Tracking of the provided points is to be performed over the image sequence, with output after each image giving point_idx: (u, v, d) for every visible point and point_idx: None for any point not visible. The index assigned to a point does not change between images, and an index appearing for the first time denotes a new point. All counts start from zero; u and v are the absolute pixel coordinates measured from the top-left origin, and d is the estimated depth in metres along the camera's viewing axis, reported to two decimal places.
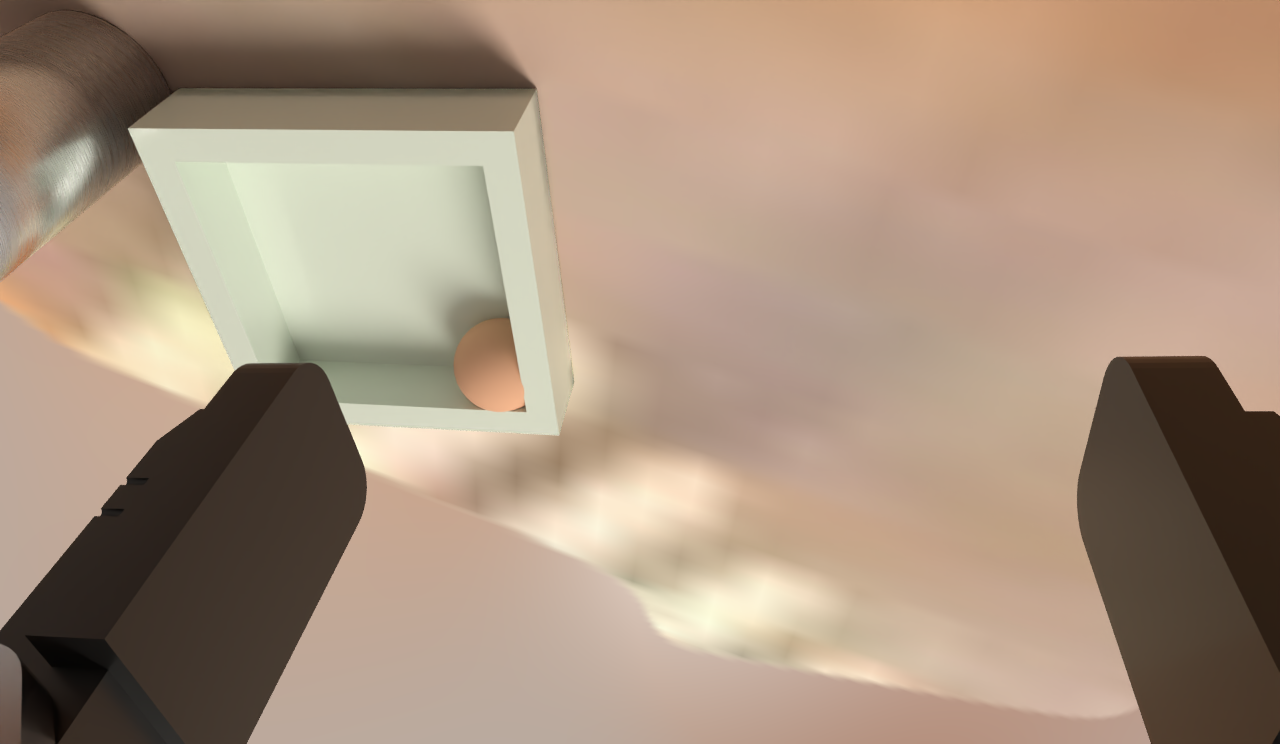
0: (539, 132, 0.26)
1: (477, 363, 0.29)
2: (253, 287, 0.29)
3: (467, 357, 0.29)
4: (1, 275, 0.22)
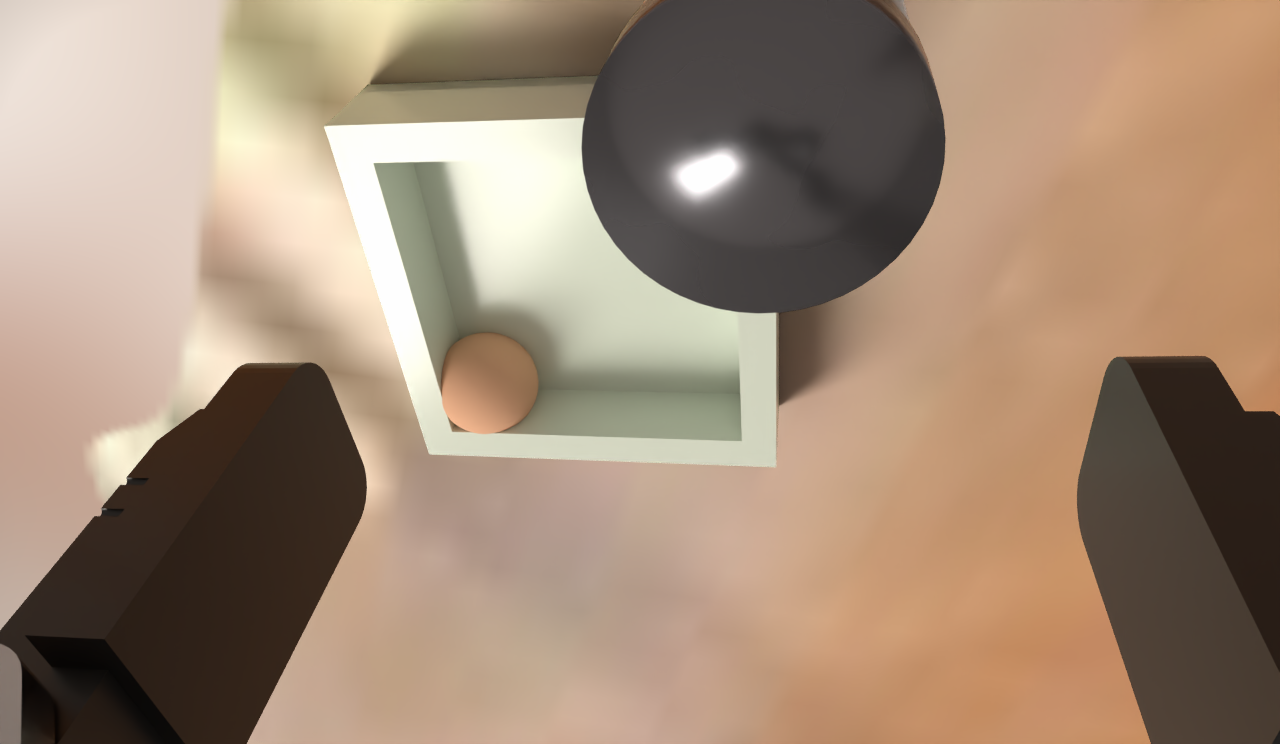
0: None
1: (506, 399, 0.27)
2: None
3: (507, 385, 0.27)
4: None
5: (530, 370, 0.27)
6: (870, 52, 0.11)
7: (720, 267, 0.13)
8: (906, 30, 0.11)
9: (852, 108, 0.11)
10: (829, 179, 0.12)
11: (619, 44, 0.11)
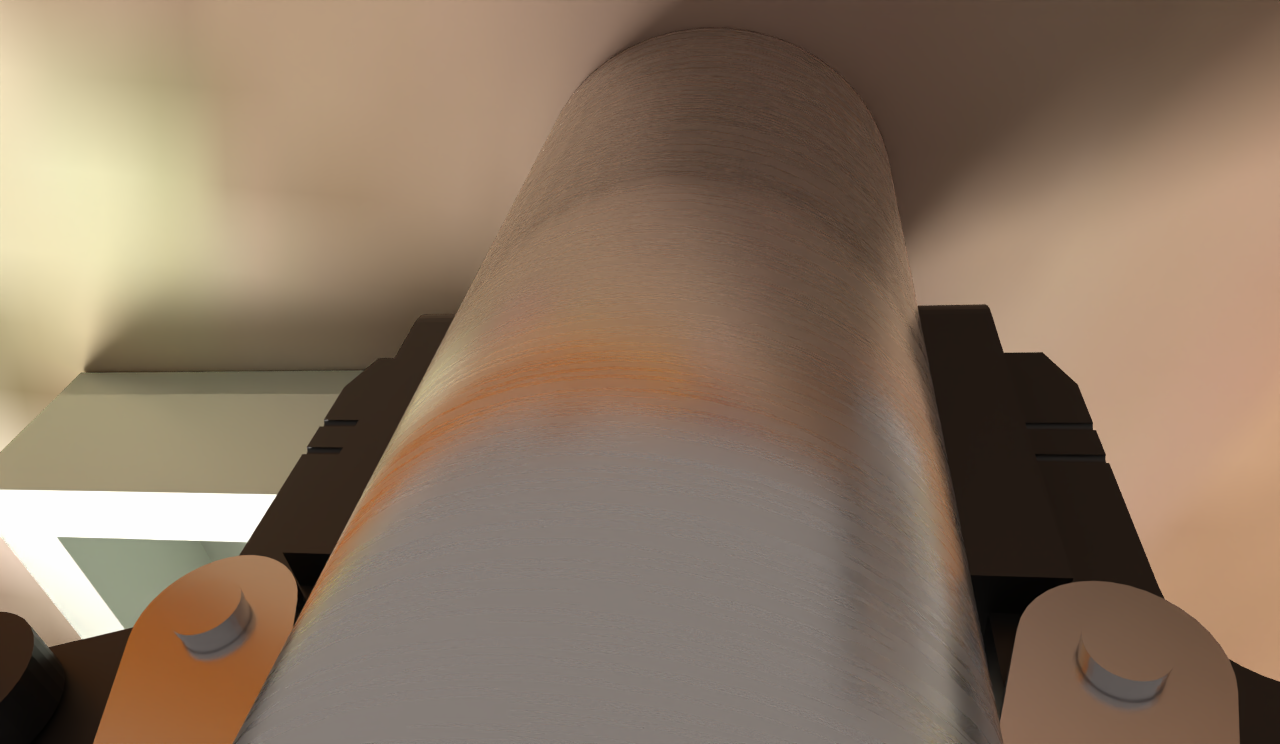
0: None
1: None
2: None
3: None
4: None
5: None
6: None
7: None
8: None
9: None
10: None
11: None
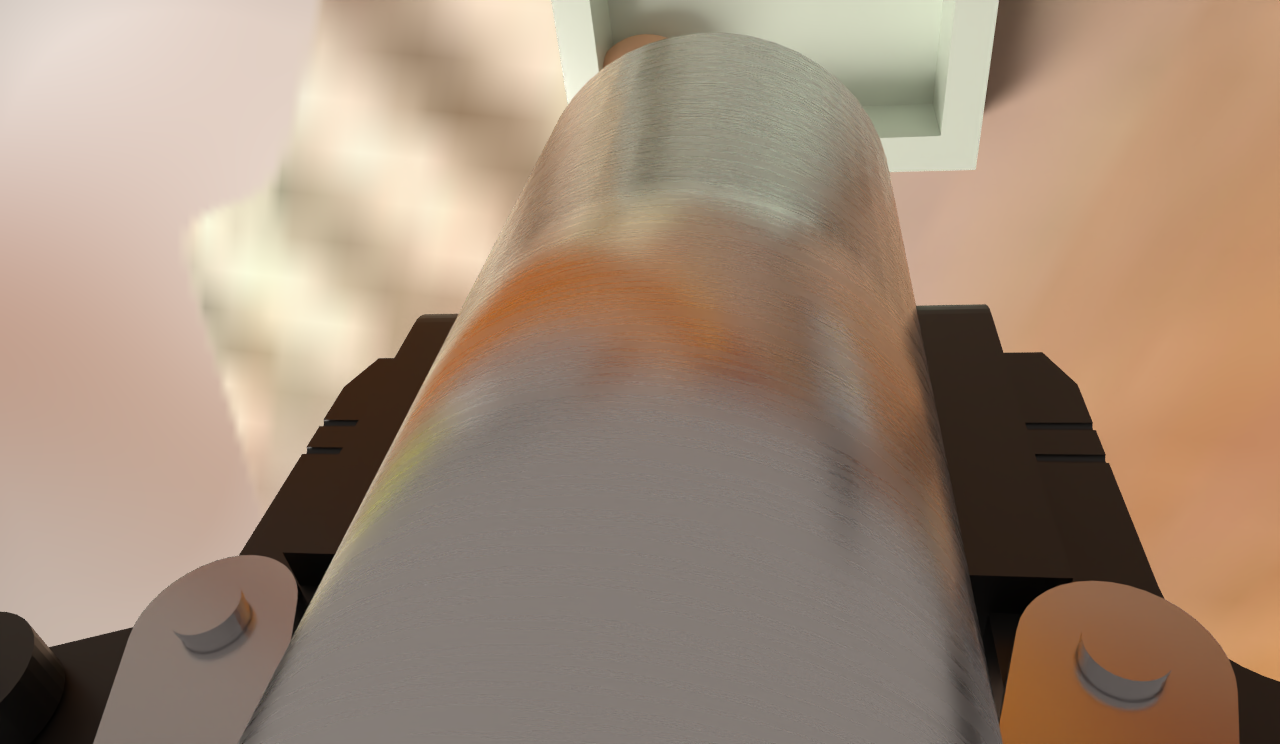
0: None
1: None
2: None
3: None
4: None
5: None
6: None
7: None
8: None
9: None
10: None
11: None
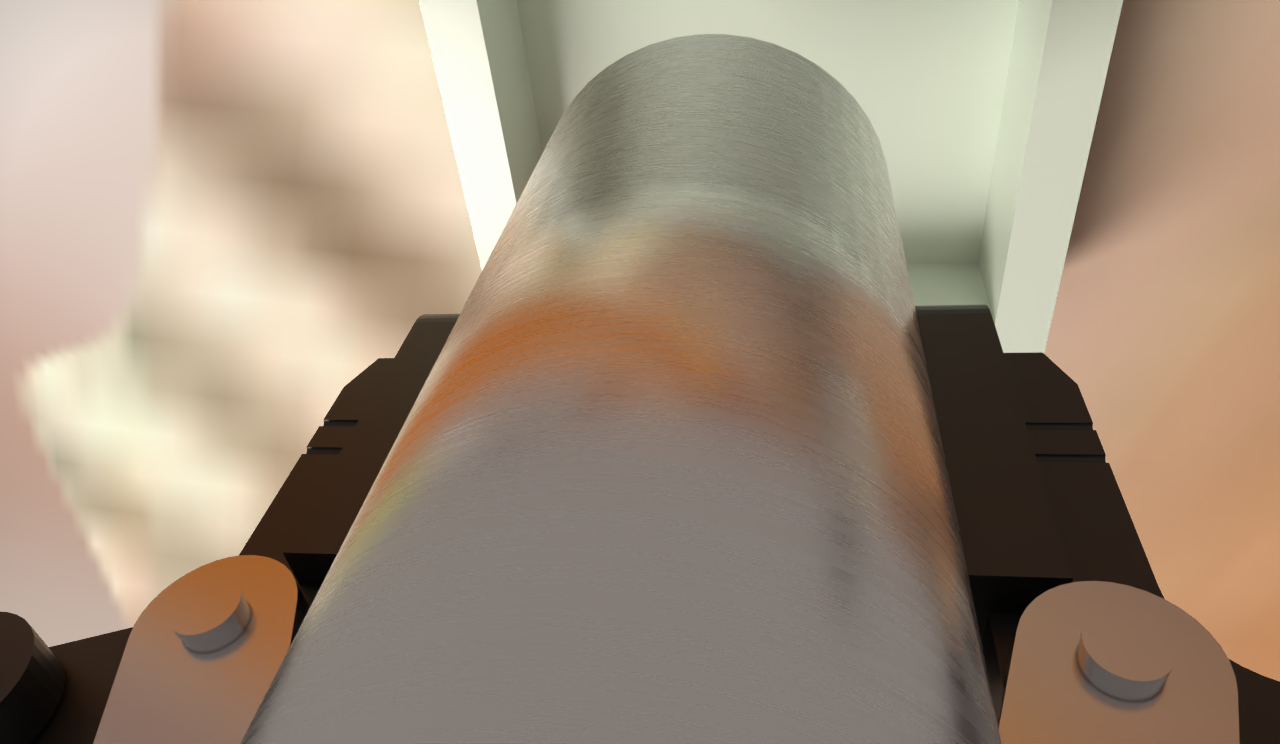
0: None
1: None
2: None
3: None
4: None
5: None
6: None
7: None
8: None
9: None
10: None
11: None
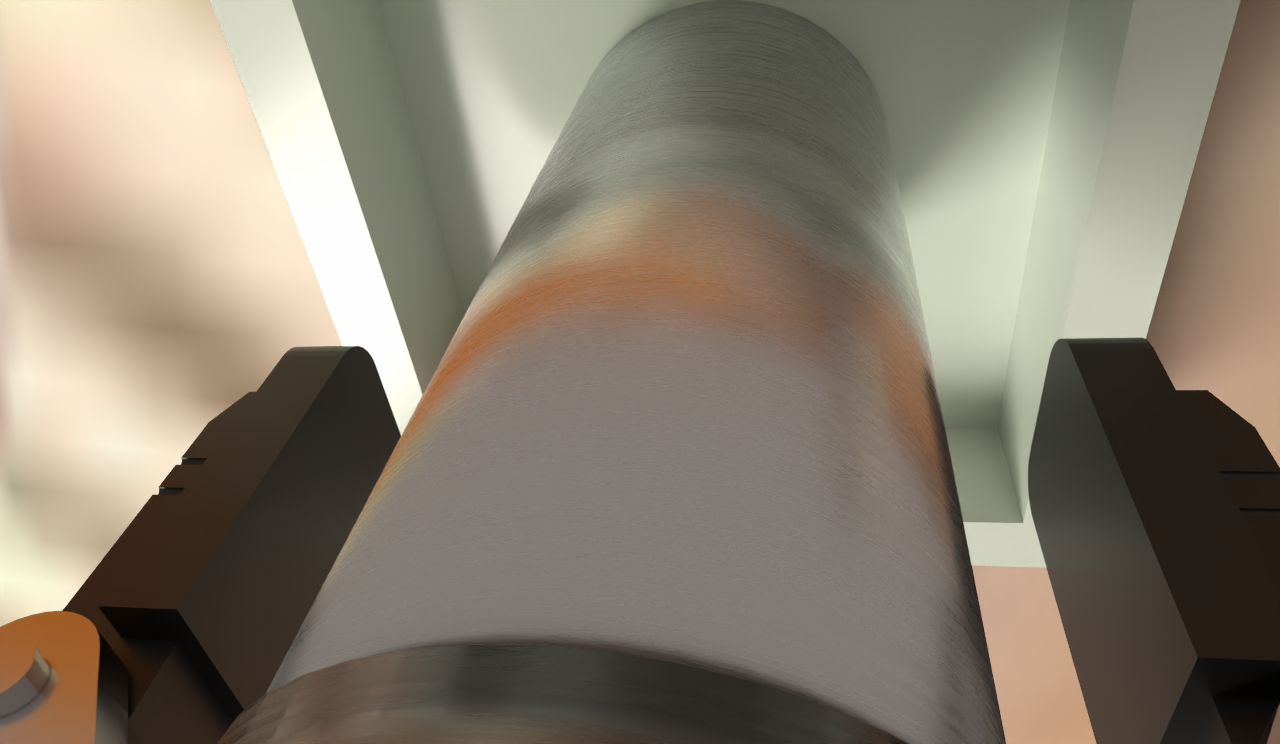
0: None
1: None
2: None
3: None
4: None
5: None
6: None
7: None
8: None
9: None
10: None
11: None
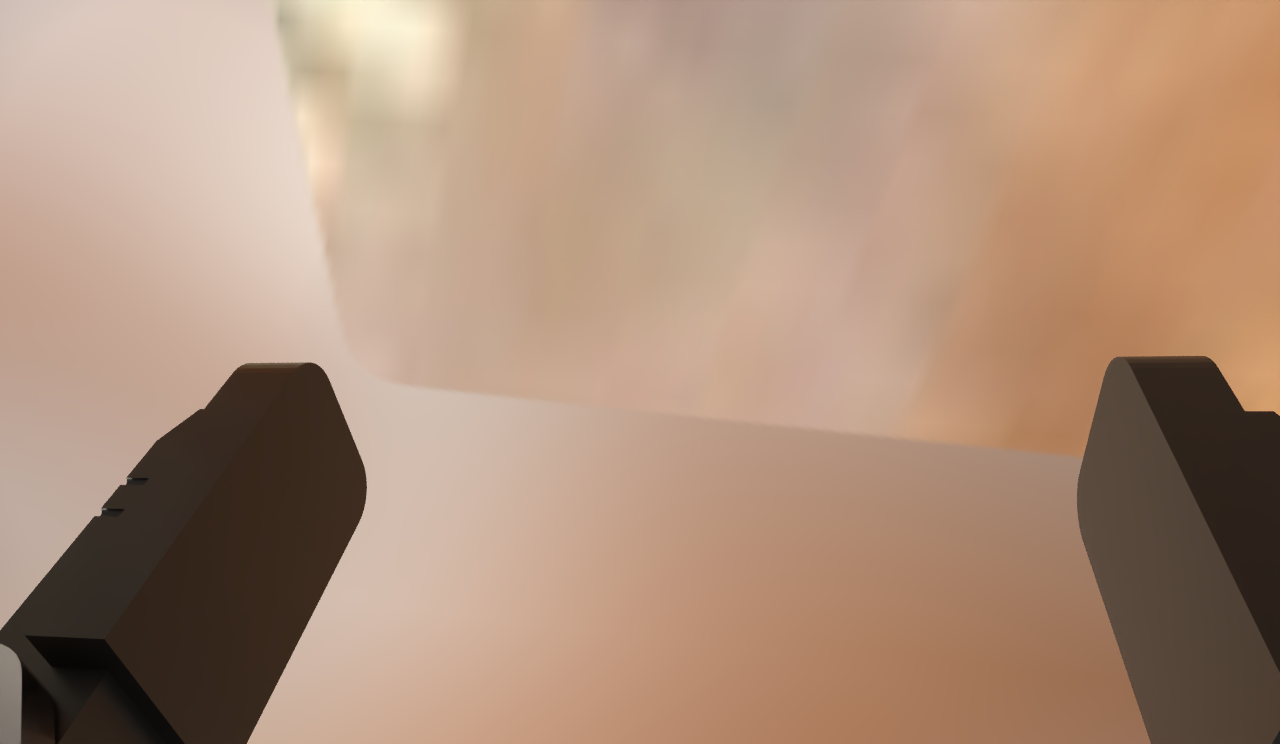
0: None
1: None
2: None
3: None
4: None
5: None
6: None
7: None
8: None
9: None
10: None
11: None
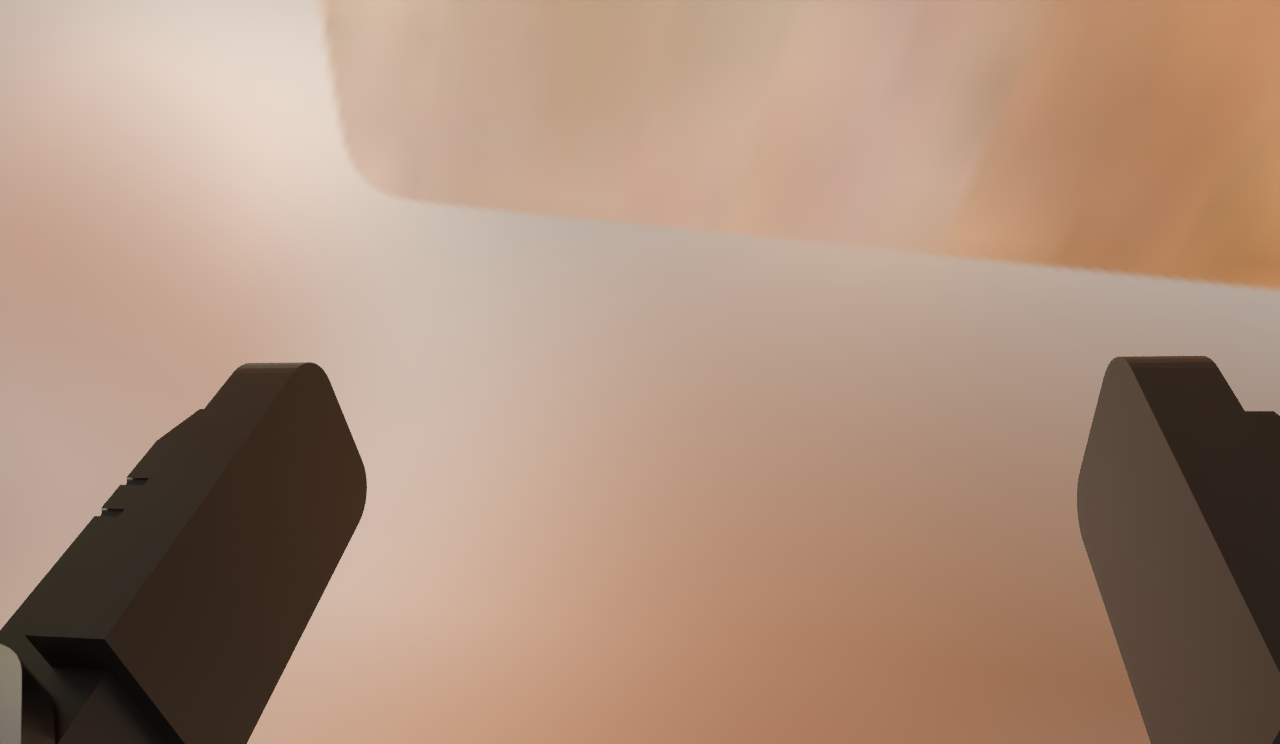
0: None
1: None
2: None
3: None
4: None
5: None
6: None
7: None
8: None
9: None
10: None
11: None
